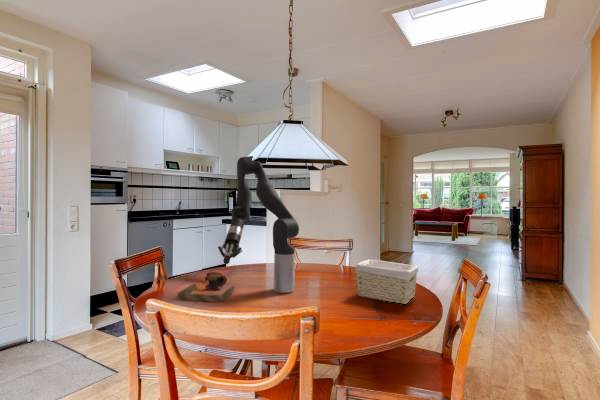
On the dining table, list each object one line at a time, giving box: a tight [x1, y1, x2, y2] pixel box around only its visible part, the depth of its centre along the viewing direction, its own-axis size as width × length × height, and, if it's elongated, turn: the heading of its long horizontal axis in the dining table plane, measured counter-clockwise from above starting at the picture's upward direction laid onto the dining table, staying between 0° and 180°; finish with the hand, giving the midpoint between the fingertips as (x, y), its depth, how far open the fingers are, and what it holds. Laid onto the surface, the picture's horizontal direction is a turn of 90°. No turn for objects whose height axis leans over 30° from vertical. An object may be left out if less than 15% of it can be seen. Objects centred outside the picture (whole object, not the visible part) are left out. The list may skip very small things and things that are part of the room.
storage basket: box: [355, 258, 419, 305], centre depth 151 cm, size 24×16×15 cm
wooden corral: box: [177, 283, 235, 303], centre depth 147 cm, size 19×16×2 cm
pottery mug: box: [204, 271, 228, 291], centre depth 160 cm, size 12×10×8 cm
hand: (225, 263), depth 171 cm, fingers closed
